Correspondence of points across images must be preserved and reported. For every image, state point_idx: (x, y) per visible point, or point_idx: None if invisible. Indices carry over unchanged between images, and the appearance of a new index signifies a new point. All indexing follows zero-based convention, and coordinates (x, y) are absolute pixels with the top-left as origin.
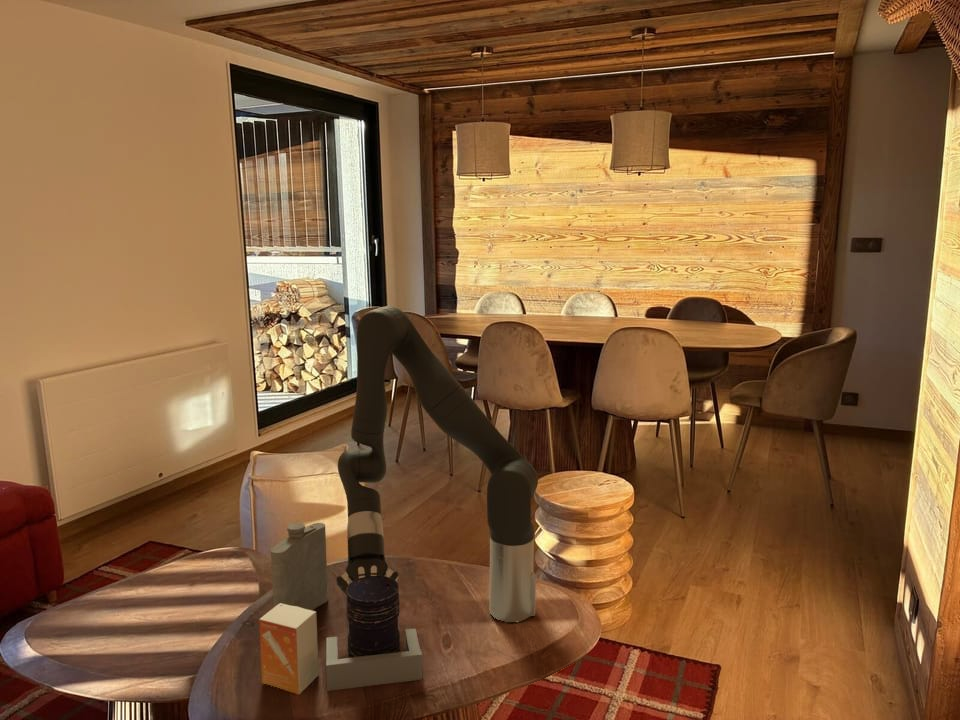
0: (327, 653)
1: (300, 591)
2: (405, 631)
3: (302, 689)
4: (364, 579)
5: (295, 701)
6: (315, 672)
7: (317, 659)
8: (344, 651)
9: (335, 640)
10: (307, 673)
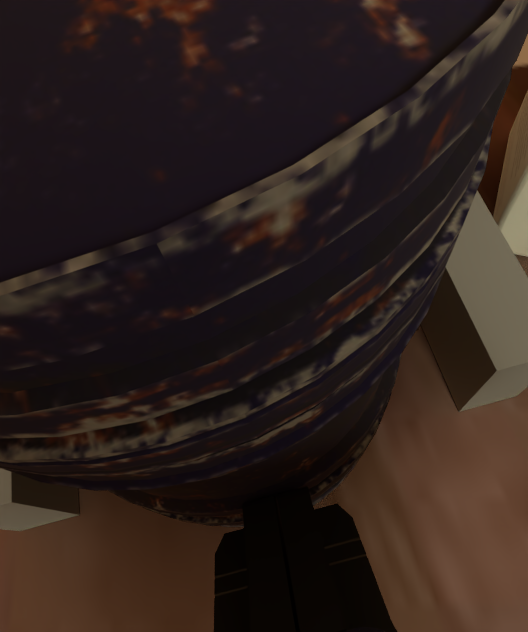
0: (476, 199)
1: None
2: (13, 478)
3: (507, 146)
4: (243, 115)
5: (502, 108)
6: (498, 208)
7: (515, 181)
8: (435, 457)
9: (487, 326)
10: (519, 132)
